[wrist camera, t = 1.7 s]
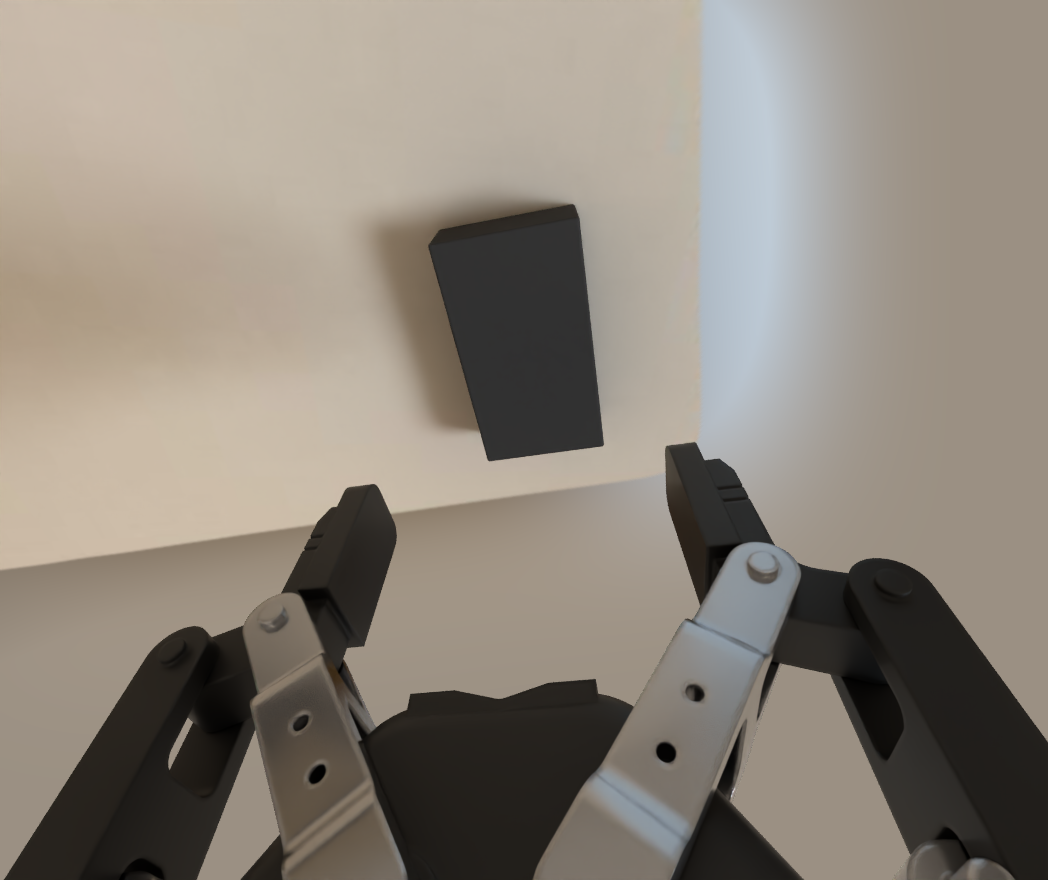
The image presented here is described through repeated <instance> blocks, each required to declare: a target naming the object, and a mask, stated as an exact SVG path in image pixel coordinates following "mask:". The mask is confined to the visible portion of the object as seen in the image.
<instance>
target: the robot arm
mask: <svg viewBox="0 0 1048 880" xmlns="http://www.w3.org/2000/svg"><path fill="white" fill-rule="evenodd" d="M665 461H666V494H667V502H668V506H669V511H670V514H671V517H672V521H673V524H674V526H675V530H676V533H677V536H678V539H679V542H680V545H681V548H682V551H683V554H684V557H685V560H686V563H687V566H688V570H689V573H690V576H691V579H692V582H693V585H694V588H695V591H696V594H697V597H698V600H699V603H700V608H699V610H698V612H697V614H696V615H695V617H694V618H693V619H692V620H690V619H685V620H684V621H683V622H682V623H681V625H680V626H679V628H678V629H677V631H676V633H675V635H674V636H673V638H672V640H671V642H670V644H669V645H668V647H667V649H666V651H665V653H664V654H663V656H662V658H661V660H660V661H659V664H658V665H657V667H656V669H655V670H654V672H653V674H652V676H651V678H650V679H649V681H648V683H647V685H646V686H645V688H644V690H643V692H642V693H641V695H640V697H639V699H638V700H637V702H636V704H635V706H634V707H633V706H632V705H630V704H628V703H626V702H624V701H621V700H619V699H616V698H613V697H610V696H607V695H602V694H598V690H597V684H596V679H592V680H578V681H566V682H553V683H547V684H544V685H541V686H538V687H535V688H532V689H529V690H527V691H524V692H521V693H518V694H515V695H512V696H509V697H506V698H503V699H494V698H490V697H485V696H480V695H475V694H470V693H464V692H460V691H455V690H454V691H442V692H429V693H417V694H410V699H409V704H408V708H407V710H406V711H403V712H401V713H399V714H397V715H395V716H393V717H391V718H389V719H388V720H386V721H385V722H383V723H382V724H380V725H379V726H378V727H376V726H375V724H374V722H373V720H372V719H371V717H370V714H369V712H368V710H367V708H366V706H365V703H364V701H363V699H362V697H361V695H360V693H359V690H358V688H357V686H356V684H355V682H354V679H353V677H352V675H351V673H350V671H349V669H348V666H347V664H346V663H345V661H344V660H343V657H344V655H345V652H346V649H347V648H351V647H361V646H364V645H365V641H366V638H367V635H368V632H369V629H370V625H371V622H372V618H373V616H374V612H375V609H376V606H377V602H378V600H379V596H380V593H381V590H382V587H383V584H384V580H385V577H386V574H387V570H388V568H389V564H390V561H391V558H392V555H393V551H394V548H395V545H396V538H397V535H396V527H395V523H394V521H393V519H392V516H391V514H390V512H389V510H388V507H387V505H386V503H385V501H384V499H383V496H382V494H381V492H380V490H379V488H378V487H377V486H376V485H375V484H370V485H363V486H355V487H349V488H347V489H346V490H345V492H344V494H343V496H342V498H341V500H340V502H339V504H338V506H337V507H332V508H331V509H330V510H329V511H328V512H327V513H326V514H325V515H324V516H323V517H322V518H321V519H320V520H319V521H318V522H317V524H316V526H315V529H314V530H313V532H312V534H311V539H309V540H308V542H307V544H306V546H305V548H304V549H305V551H303V552H302V554H301V556H300V558H299V559H298V562H297V563H296V565H295V567H294V570H293V571H292V573H291V575H290V577H289V579H288V581H287V583H286V585H285V587H284V589H283V591H282V593H281V594H278V595H276V596H273V597H271V598H269V599H267V600H266V601H264V602H263V603H261V604H260V605H259V606H258V607H256V609H254V610H253V611H252V613H251V614H250V615H249V616H248V618H247V619H246V621H245V623H244V625H243V626H241V627H238V628H236V629H233V630H231V631H228V632H225V633H222V634H220V635H217V636H214V637H211V636H210V635H209V634H208V633H207V632H206V631H205V630H204V629H203V628H201V627H196V626H192V627H187V628H184V629H181V630H178V631H176V632H174V633H173V634H171V635H169V636H168V637H166V638H165V639H163V640H162V641H161V642H160V643H159V644H158V645H156V646H155V647H154V648H153V650H152V651H151V652H150V653H149V654H148V656H147V657H146V659H145V660H144V662H143V663H142V665H141V666H140V668H139V670H138V671H137V673H136V674H135V676H134V677H133V679H132V680H131V682H130V684H129V685H128V687H127V689H126V690H125V692H124V693H123V695H122V696H121V698H120V699H119V701H118V702H117V704H116V705H115V707H114V709H113V711H112V712H111V713H110V715H109V716H108V718H107V720H106V721H105V723H104V724H103V726H102V727H101V729H100V731H99V732H98V734H97V735H96V737H95V738H94V740H93V741H92V743H91V745H90V746H89V748H88V749H87V751H86V753H85V754H84V755H83V757H82V759H81V760H80V762H79V763H78V765H77V766H76V768H75V770H74V771H73V773H72V774H71V776H70V777H69V779H68V781H67V782H66V784H65V785H64V787H63V788H62V790H61V791H60V793H59V795H58V796H57V798H56V799H55V801H54V802H53V804H52V806H51V807H50V809H49V810H48V812H47V813H46V815H45V816H44V818H43V820H42V821H41V823H40V824H39V826H38V827H37V829H36V831H35V832H34V834H33V835H32V837H31V838H30V840H29V842H28V843H27V845H26V846H25V848H24V849H23V851H22V852H21V854H20V856H19V857H18V859H17V860H16V862H15V864H14V865H13V866H12V868H11V870H10V871H9V873H8V875H7V876H6V878H5V879H4V880H196V879H197V877H198V874H199V872H200V869H201V867H202V864H203V862H204V859H205V856H206V854H207V851H208V849H209V846H210V844H211V841H212V839H213V836H214V833H215V831H216V828H217V826H218V823H219V821H220V818H221V815H222V813H223V810H224V808H225V805H226V803H227V800H228V798H229V795H230V793H231V790H232V787H233V785H234V782H235V780H236V777H237V775H238V772H239V769H240V767H241V764H242V762H243V759H244V757H245V754H246V752H247V749H248V747H249V744H250V741H251V739H252V736H253V734H254V731H255V730H256V734H257V738H258V742H259V746H260V751H261V755H262V759H263V764H264V768H265V772H266V777H267V780H268V785H269V789H270V794H271V798H272V802H273V806H274V811H275V815H276V819H277V823H278V828H279V832H280V835H279V836H278V837H277V838H276V840H275V841H274V842H273V843H272V844H271V845H270V846H269V848H268V849H267V850H266V851H265V852H264V853H263V854H262V856H261V857H260V858H259V859H258V860H257V861H256V863H255V864H254V865H253V866H252V867H251V868H250V869H249V871H248V872H247V873H246V874H245V875H244V876H243V877H242V879H241V880H804V879H802V877H801V876H800V875H799V874H798V873H797V872H796V871H795V870H794V869H793V868H792V867H791V866H790V865H789V864H788V863H787V861H786V860H785V859H784V858H783V857H782V856H781V855H780V854H779V853H778V852H777V851H776V850H775V849H774V848H773V847H772V846H771V845H770V844H769V842H768V841H767V840H766V839H765V838H764V837H763V836H762V835H761V834H760V833H759V832H758V831H757V830H756V829H755V828H754V827H753V826H752V825H751V824H750V822H749V821H748V820H747V819H746V818H745V817H744V816H743V815H742V814H741V813H740V812H739V811H738V810H737V809H736V808H735V807H734V805H733V804H732V801H733V799H734V796H735V794H736V791H737V788H738V785H739V783H740V780H741V777H742V774H743V772H744V769H745V766H746V763H747V761H748V758H749V754H750V751H751V748H752V744H753V740H754V737H755V734H756V731H757V728H758V725H759V723H760V720H761V717H762V715H763V712H764V709H765V707H766V704H767V702H768V699H769V696H770V694H771V691H772V688H773V686H774V683H775V680H776V678H777V675H778V673H779V670H780V667H781V664H786V665H791V666H796V667H800V668H804V669H809V670H814V671H818V672H823V673H828V674H830V675H831V677H832V679H833V682H834V684H835V686H836V688H837V691H838V693H839V695H840V697H841V700H842V702H843V704H844V706H845V709H846V711H847V713H848V715H849V718H850V720H851V722H852V724H853V727H854V729H855V731H856V733H857V735H858V738H859V740H860V742H861V745H862V747H863V749H864V751H865V754H866V756H867V758H868V760H869V763H870V765H871V767H872V769H873V772H874V774H875V776H876V778H877V781H878V783H879V785H880V787H881V790H882V792H883V794H884V796H885V799H886V801H887V803H888V805H889V808H890V810H891V812H892V815H893V817H894V819H895V821H896V824H897V826H898V828H899V830H900V833H901V835H902V837H903V839H904V841H905V844H906V846H907V848H908V851H909V853H910V856H909V858H908V859H907V860H906V862H905V863H904V864H903V866H902V867H901V868H900V870H899V871H898V872H897V873H896V875H895V876H894V878H893V880H1048V742H1047V741H1046V739H1045V738H1044V736H1043V735H1042V734H1041V732H1040V731H1039V729H1038V728H1037V727H1036V725H1035V724H1034V723H1033V721H1032V720H1031V719H1030V717H1029V716H1028V715H1027V713H1026V712H1025V711H1024V709H1023V708H1022V706H1021V705H1020V703H1019V702H1018V701H1017V699H1016V698H1015V697H1014V695H1013V694H1012V693H1011V691H1010V690H1009V688H1008V687H1007V686H1006V684H1005V683H1004V682H1003V680H1002V679H1001V677H1000V676H999V675H998V674H997V672H996V671H995V669H994V668H993V667H992V665H991V664H990V662H989V661H988V660H987V658H986V657H985V656H984V654H983V653H982V652H981V650H980V649H979V647H978V646H977V645H976V643H975V642H974V641H973V639H972V638H971V636H970V635H969V634H968V633H967V631H966V630H965V628H964V627H963V626H962V624H961V623H960V622H959V620H958V619H957V617H956V616H955V615H954V613H953V612H952V611H951V609H950V608H949V606H948V605H947V604H946V602H945V601H944V600H943V598H942V597H941V595H940V594H939V593H938V591H937V590H936V589H935V587H934V586H933V585H932V583H931V582H930V581H929V580H928V579H927V578H926V577H925V576H923V575H922V574H921V573H920V572H918V571H916V570H915V569H913V568H911V567H910V566H907V565H905V564H903V563H900V562H897V561H893V560H889V559H881V558H872V559H866V560H862V561H860V562H858V563H856V564H855V565H854V566H852V568H851V569H850V571H849V573H843V572H835V571H829V570H822V569H816V568H811V567H808V566H804V565H802V564H799V563H797V561H796V560H795V559H794V558H793V557H792V556H791V555H790V554H789V553H788V552H786V551H785V550H783V549H781V548H779V547H777V546H775V544H774V543H773V541H772V539H771V538H770V536H769V534H768V532H767V530H766V528H765V526H764V525H763V523H762V521H761V519H760V517H759V515H758V513H757V512H756V510H755V508H754V506H753V504H752V502H751V501H750V499H749V498H748V495H747V493H746V491H745V490H744V488H743V487H742V484H741V482H740V480H739V478H738V476H737V474H736V473H735V471H734V470H733V469H732V468H731V467H729V466H728V465H727V464H726V463H724V462H723V461H722V460H720V459H713V460H704V459H703V456H702V454H701V452H700V450H699V448H698V446H697V444H696V443H695V442H693V443H685V444H678V445H670V446H666V449H665ZM187 718H189V719H190V720H191V721H192V722H193V724H192V726H191V728H190V730H189V732H188V734H187V736H186V738H185V740H184V742H183V744H182V746H181V748H180V750H179V752H178V754H177V757H176V758H175V760H174V762H173V764H172V766H171V769H170V770H169V768H168V759H169V754H170V751H171V749H172V747H173V745H174V743H175V741H176V739H177V737H178V735H179V733H180V731H181V729H182V727H183V725H184V724H185V722H186V720H187Z"/></svg>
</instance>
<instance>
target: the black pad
mask: <svg viewBox="0 0 1048 880" xmlns="http://www.w3.org/2000/svg"><path fill="white" fill-rule="evenodd" d="M429 251H430V254H431V258H432V262H433V265H434V269H435V272H436V276H437V279H438V283H439V287H440V290H441V294H442V297H443V301H444V305H445V308H446V312H447V315H448V319H449V322H450V326H451V330H452V333H453V337H454V340H455V344H456V348H457V351H458V355H459V358H460V362H461V365H462V369H463V373H464V376H465V380H466V383H467V387H468V391H469V394H470V398H471V401H472V405H473V408H474V412H475V416H476V419H477V423H478V426H479V430H480V434H481V437H482V441H483V444H484V448H485V451H486V455H487V459H488V461H495V460H503V459H510V458H518V457H525V456H533V455H540V454H548V453H555V452H563V451H570V450H578V449H585V448H593V447H600V446H603V445H604V441H603V432H602V423H601V413H600V404H599V395H598V386H597V377H596V368H595V358H594V349H593V340H592V331H591V322H590V312H589V303H588V294H587V285H586V276H585V266H584V257H583V248H582V239H581V230H580V220H579V216H578V214H577V211H576V208H575V206H574V205H573V204H572V205H567V206H562V207H557V208H551V209H546V210H541V211H536V212H531V213H525V214H520V215H515V216H510V217H505V218H499V219H494V220H489V221H484V222H479V223H473V224H468V225H463V226H458V227H453V228H447V229H442V230H439V232H438V233H437V234H436V236H435V237H434V238H433V240H432V241H431V243H430V244H429Z"/></svg>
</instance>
